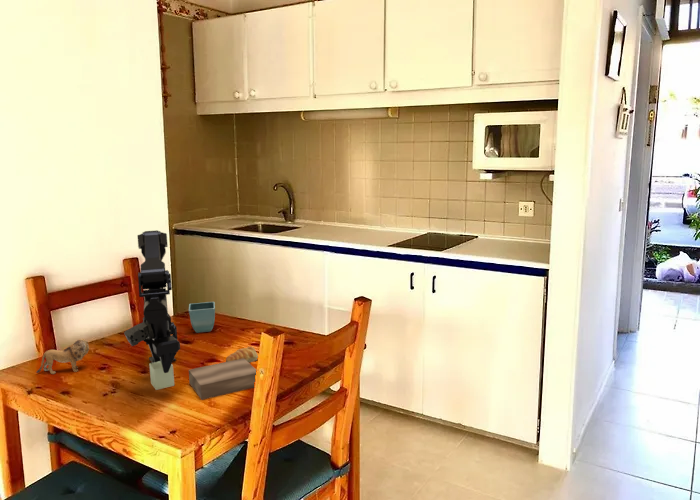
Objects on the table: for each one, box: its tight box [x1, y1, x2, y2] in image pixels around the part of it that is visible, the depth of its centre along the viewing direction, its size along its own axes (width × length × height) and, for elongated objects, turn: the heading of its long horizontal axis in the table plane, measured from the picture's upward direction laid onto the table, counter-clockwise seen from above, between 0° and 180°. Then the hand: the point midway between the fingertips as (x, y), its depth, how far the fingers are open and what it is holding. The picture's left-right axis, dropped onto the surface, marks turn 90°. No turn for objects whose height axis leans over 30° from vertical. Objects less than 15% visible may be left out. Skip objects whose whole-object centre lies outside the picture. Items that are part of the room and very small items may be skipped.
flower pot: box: [188, 301, 216, 334], centre depth 206 cm, size 9×9×9 cm
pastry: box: [225, 346, 259, 364], centre depth 178 cm, size 9×7×4 cm
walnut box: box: [188, 358, 257, 401], centre depth 161 cm, size 12×16×4 cm
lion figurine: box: [35, 338, 90, 375], centre depth 172 cm, size 15×5×9 cm, turn 111°
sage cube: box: [148, 361, 175, 391], centre depth 162 cm, size 5×5×6 cm
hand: (161, 367), depth 161 cm, fingers open, 9 cm apart
